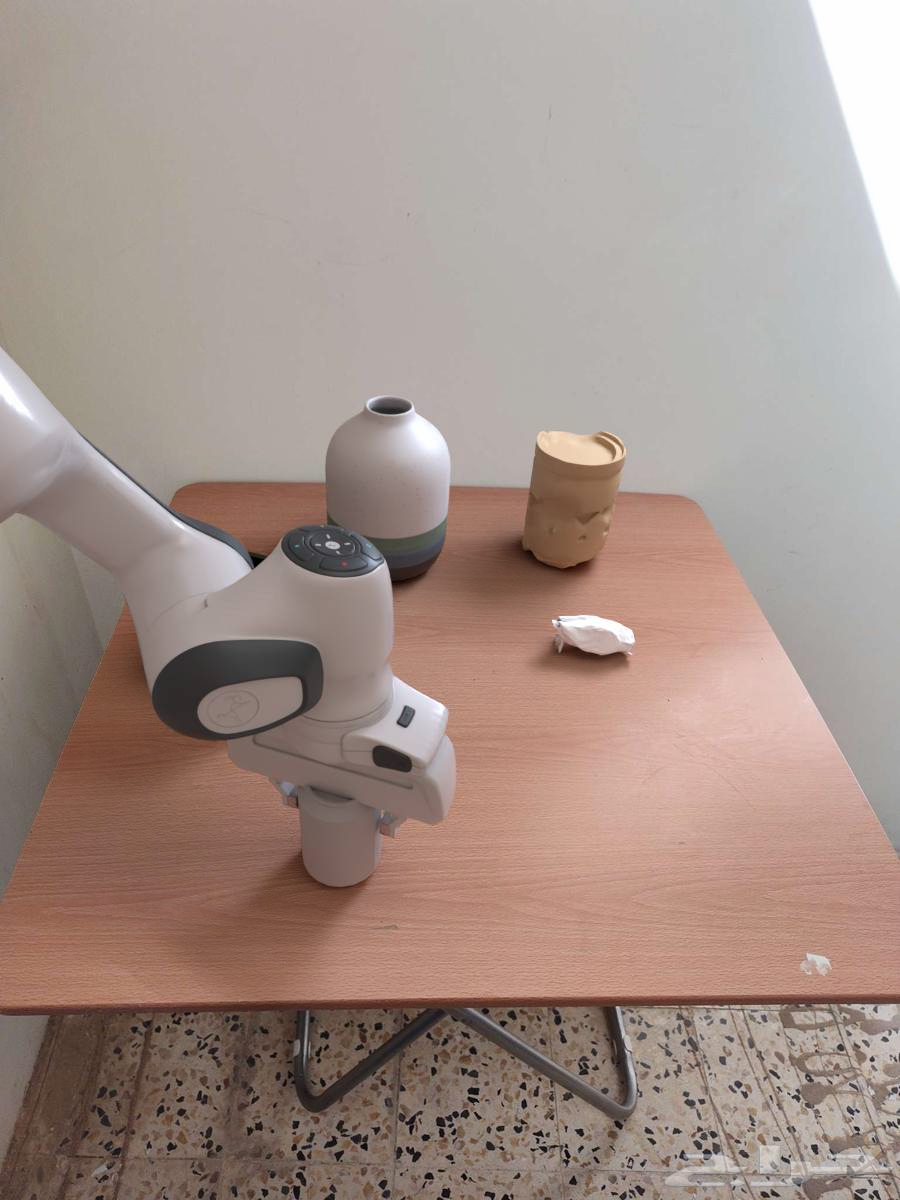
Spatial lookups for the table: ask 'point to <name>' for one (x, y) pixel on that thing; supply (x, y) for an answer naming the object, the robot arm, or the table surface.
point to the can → (338, 837)
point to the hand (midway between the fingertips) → (341, 815)
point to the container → (572, 495)
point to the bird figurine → (593, 634)
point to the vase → (391, 483)
